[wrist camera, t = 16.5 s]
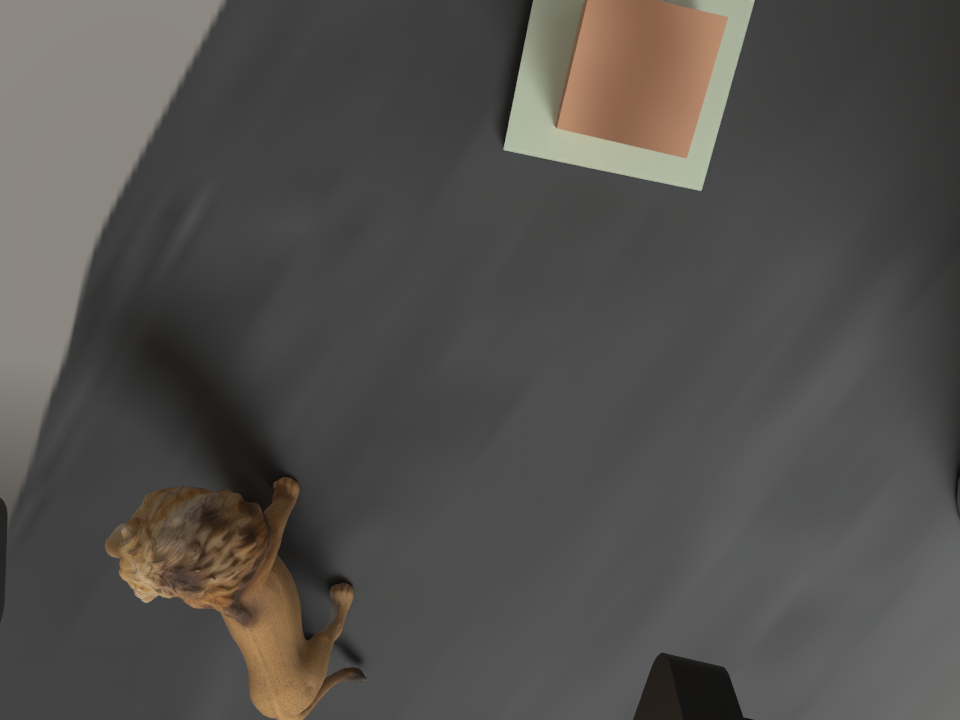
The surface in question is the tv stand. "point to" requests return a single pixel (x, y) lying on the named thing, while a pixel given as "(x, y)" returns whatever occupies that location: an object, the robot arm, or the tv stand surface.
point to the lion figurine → (236, 585)
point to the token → (640, 73)
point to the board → (540, 138)
